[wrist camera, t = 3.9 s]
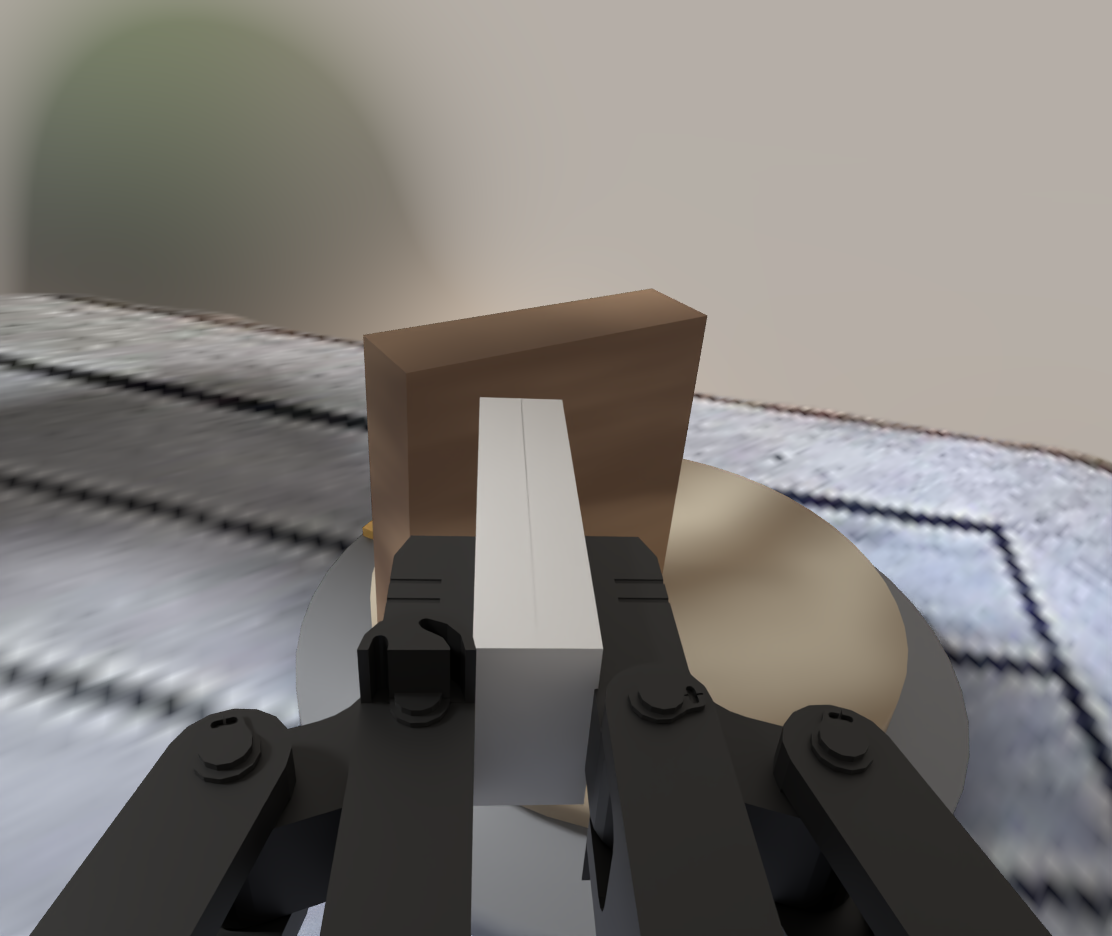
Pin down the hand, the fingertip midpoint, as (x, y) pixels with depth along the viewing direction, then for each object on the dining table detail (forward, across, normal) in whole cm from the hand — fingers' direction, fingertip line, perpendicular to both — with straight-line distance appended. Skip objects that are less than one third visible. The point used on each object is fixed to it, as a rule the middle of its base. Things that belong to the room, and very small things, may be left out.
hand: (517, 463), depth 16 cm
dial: (+9, +5, -11) cm, 15 cm away
